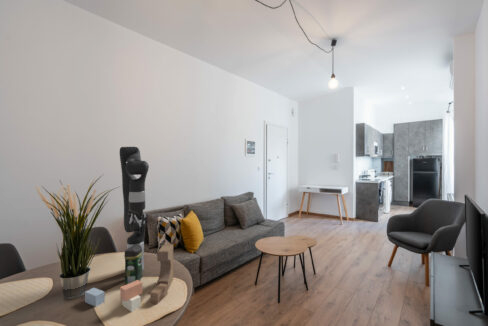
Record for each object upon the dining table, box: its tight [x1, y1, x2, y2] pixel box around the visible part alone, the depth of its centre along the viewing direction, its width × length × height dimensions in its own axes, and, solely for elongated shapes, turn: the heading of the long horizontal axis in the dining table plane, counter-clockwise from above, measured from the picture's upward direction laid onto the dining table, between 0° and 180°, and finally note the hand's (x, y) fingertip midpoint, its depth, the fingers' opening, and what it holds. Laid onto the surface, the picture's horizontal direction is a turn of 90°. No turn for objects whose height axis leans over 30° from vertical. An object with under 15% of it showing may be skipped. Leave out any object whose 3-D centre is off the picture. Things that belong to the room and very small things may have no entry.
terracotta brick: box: [119, 280, 143, 302], centre depth 104 cm, size 8×4×5 cm, turn 143°
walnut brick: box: [149, 283, 169, 305], centre depth 110 cm, size 8×4×5 cm, turn 166°
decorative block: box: [156, 243, 174, 290], centre depth 122 cm, size 11×6×20 cm, turn 2°
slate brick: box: [84, 287, 106, 307], centre depth 107 cm, size 8×4×5 cm, turn 66°
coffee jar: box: [124, 245, 143, 285], centre depth 126 cm, size 10×8×19 cm
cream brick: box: [121, 295, 141, 313], centre depth 104 cm, size 8×4×5 cm, turn 56°
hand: (137, 232), depth 115 cm, fingers open, 8 cm apart
